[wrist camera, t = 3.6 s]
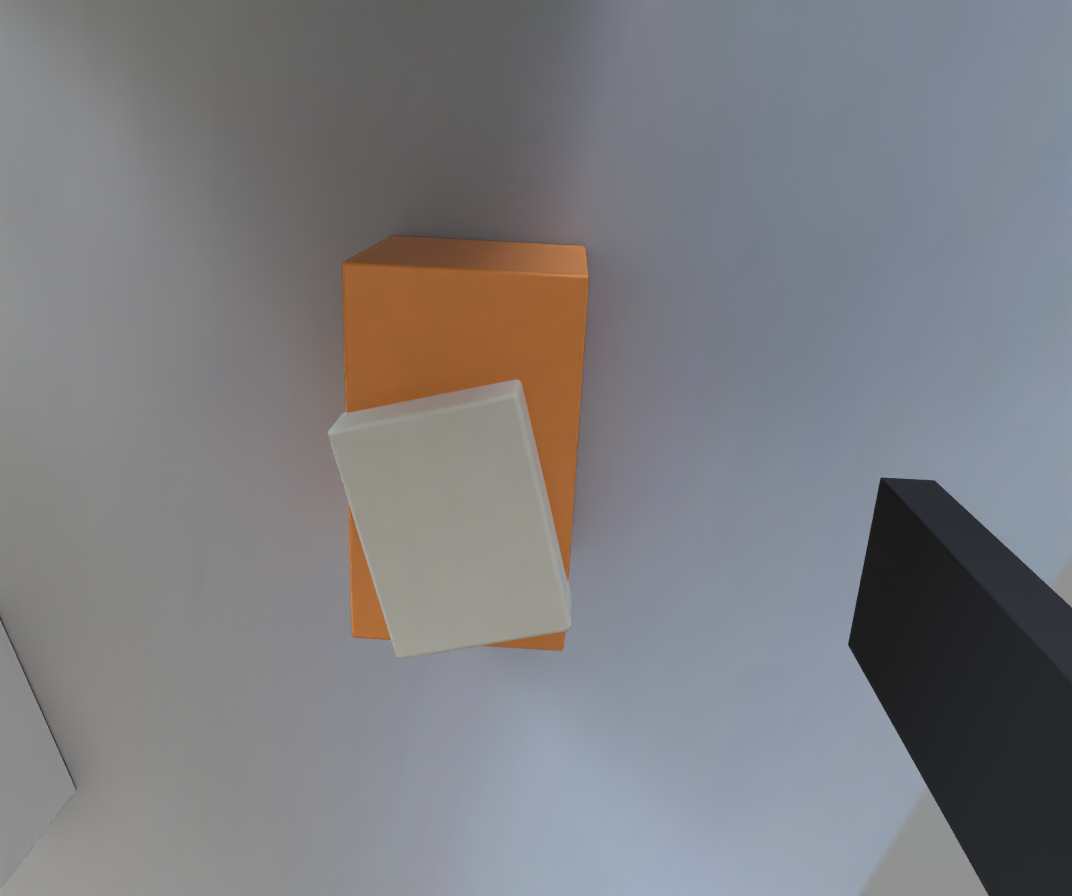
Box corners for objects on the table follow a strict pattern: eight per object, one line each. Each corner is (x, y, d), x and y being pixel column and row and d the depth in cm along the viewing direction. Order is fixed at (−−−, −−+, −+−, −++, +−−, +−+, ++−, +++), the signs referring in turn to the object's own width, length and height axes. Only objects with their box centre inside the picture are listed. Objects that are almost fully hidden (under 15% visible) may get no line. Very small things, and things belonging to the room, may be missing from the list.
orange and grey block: (590, 245, 18) (595, 284, 13) (569, 555, 20) (568, 681, 16) (385, 234, 18) (320, 270, 13) (388, 544, 20) (334, 665, 16)
